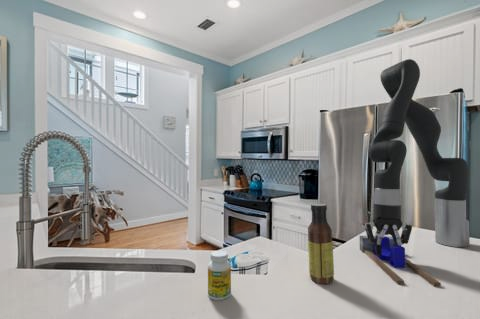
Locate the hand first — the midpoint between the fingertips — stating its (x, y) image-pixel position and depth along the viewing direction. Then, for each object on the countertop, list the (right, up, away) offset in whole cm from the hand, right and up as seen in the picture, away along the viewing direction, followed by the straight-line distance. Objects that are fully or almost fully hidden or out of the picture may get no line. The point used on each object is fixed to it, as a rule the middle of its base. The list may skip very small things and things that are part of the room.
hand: (387, 255), depth 80 cm
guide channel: (0, -1, -4) cm, 4 cm away
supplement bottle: (-52, -1, -22) cm, 56 cm away
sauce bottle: (-26, -1, -14) cm, 29 cm away
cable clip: (0, -2, 0) cm, 2 cm away
